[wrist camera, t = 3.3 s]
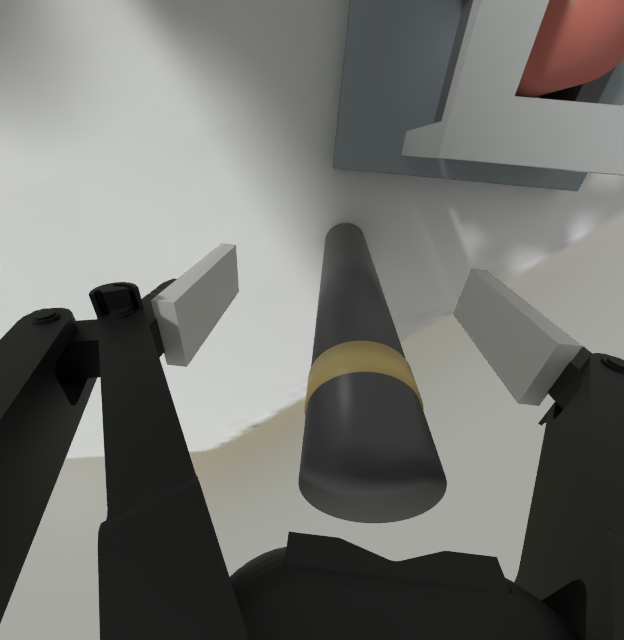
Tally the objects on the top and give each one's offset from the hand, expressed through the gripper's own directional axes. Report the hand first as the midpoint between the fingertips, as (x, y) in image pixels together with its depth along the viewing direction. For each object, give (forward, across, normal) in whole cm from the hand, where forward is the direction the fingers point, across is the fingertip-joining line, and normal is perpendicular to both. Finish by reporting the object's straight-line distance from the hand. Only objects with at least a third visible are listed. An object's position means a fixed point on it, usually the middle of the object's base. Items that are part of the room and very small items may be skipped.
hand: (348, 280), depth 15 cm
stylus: (+7, 0, 0) cm, 7 cm away
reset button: (+3, +7, +10) cm, 13 cm away
